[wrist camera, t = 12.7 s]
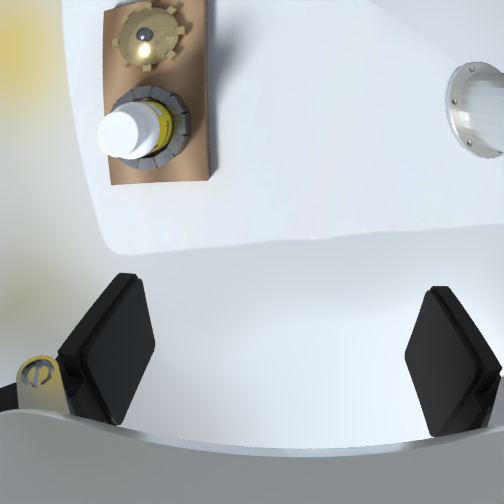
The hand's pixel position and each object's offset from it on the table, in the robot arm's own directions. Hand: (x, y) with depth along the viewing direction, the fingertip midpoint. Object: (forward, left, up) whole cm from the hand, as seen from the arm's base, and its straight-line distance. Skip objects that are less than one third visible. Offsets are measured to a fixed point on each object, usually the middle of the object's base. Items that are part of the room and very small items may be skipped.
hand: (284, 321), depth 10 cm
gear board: (+13, -9, -28) cm, 32 cm away
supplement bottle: (+13, -5, -26) cm, 30 cm away
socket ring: (+13, -5, -26) cm, 30 cm away
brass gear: (+13, -15, -26) cm, 33 cm away
